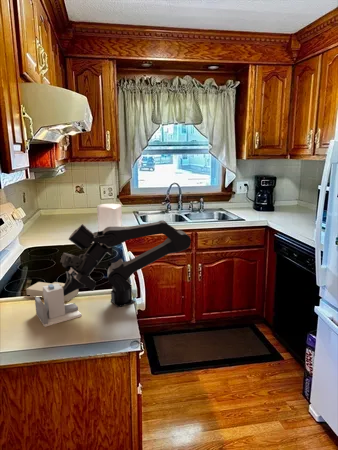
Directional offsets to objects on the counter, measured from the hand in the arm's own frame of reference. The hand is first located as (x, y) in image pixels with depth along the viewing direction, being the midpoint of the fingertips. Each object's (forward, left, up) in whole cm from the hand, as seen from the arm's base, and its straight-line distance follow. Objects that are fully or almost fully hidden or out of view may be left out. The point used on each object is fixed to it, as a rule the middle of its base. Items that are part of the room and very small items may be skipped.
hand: (62, 295), depth 111 cm
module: (+3, 0, -7) cm, 7 cm away
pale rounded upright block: (-55, -83, -7) cm, 100 cm away
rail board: (+2, 0, -7) cm, 7 cm away
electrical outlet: (-2, -18, -7) cm, 19 cm away
